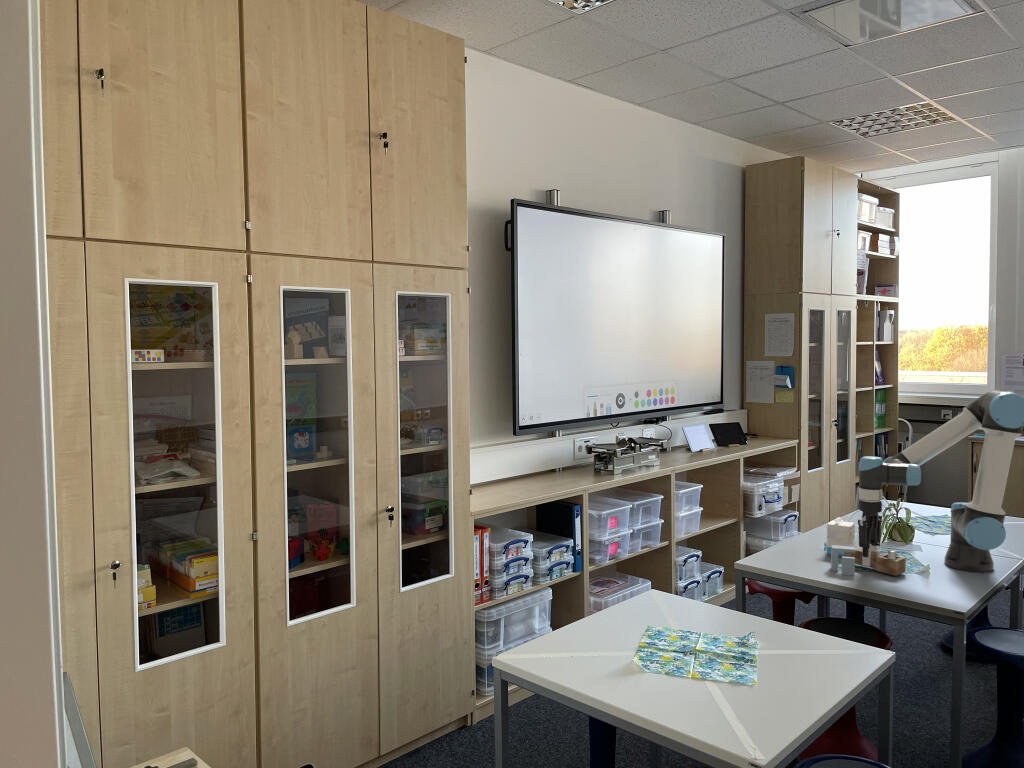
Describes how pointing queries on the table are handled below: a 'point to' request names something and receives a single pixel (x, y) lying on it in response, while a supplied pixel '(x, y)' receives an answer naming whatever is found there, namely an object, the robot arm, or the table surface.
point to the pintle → (892, 555)
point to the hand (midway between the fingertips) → (869, 564)
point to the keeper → (843, 560)
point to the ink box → (840, 534)
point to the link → (880, 562)
